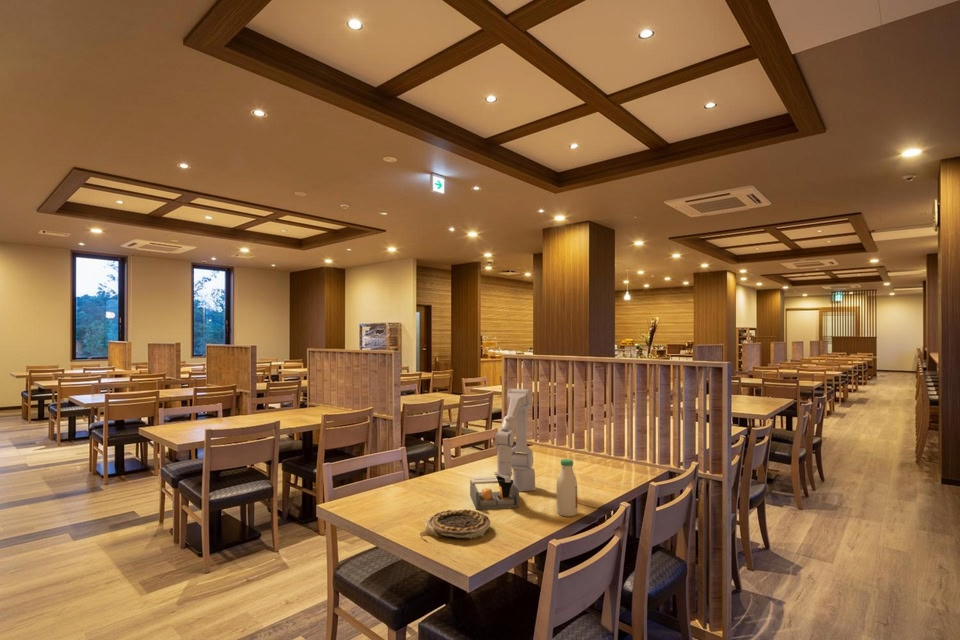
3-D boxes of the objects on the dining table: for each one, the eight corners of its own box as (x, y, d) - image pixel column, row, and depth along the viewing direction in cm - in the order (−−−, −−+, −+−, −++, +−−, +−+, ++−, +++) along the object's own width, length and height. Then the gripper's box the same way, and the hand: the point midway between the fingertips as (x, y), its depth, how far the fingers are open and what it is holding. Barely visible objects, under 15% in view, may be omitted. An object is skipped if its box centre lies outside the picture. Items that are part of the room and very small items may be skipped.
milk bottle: (572, 518, 184) (572, 463, 184) (553, 514, 188) (553, 460, 189) (580, 512, 190) (580, 459, 191) (561, 508, 194) (561, 456, 195)
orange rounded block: (508, 498, 202) (508, 485, 202) (510, 501, 198) (510, 488, 198) (498, 498, 201) (498, 485, 201) (500, 501, 197) (500, 488, 197)
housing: (509, 493, 213) (509, 477, 214) (519, 507, 195) (519, 490, 196) (470, 495, 211) (470, 479, 211) (476, 509, 193) (476, 492, 193)
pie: (478, 513, 190) (478, 500, 190) (515, 540, 166) (515, 525, 166) (407, 525, 178) (408, 511, 178) (436, 556, 153) (437, 540, 153)
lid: (509, 477, 214) (509, 475, 214) (512, 482, 206) (512, 480, 206) (470, 479, 211) (470, 477, 211) (472, 484, 204) (472, 481, 204)
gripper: (491, 457, 206) (491, 490, 206) (498, 466, 192) (498, 502, 192) (508, 456, 207) (508, 490, 207) (515, 465, 193) (516, 501, 193)
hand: (504, 495), depth 199 cm, fingers closed on orange rounded block, 4 cm apart
